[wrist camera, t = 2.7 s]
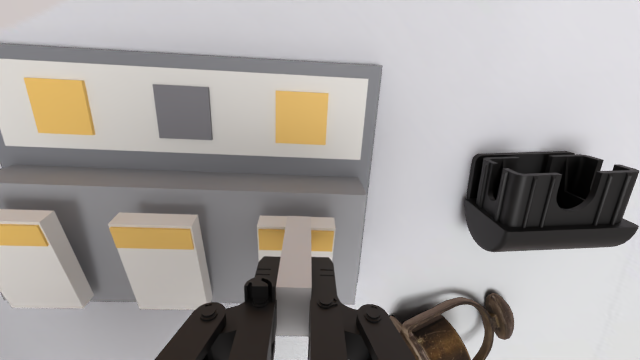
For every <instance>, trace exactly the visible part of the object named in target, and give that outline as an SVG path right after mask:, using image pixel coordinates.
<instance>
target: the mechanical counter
mask: <svg viewBox="0 0 640 360" xmlns="http://www.w3.org/2000/svg"><path fill="white" fill-rule="evenodd" d="M465 304H468V305H472V306H474V307H475V308H476V309H477V310H478V311H479V312H480V314H481V316H482V320H483V325H484V329H485V336H484V340H483V344H482V346H481V348H480V350H479V352H478V353H477V354H476V356H475V357H474V358H473V360H485V359H486V357H487V356H488V354H489V352H490V350H491V348H492V344H493V338H494V332H495V333H496V335H497V336H498V338H501V339H504V340H505V339H508V338H510V336H511V335H512V333H513V329H514V318H513V313H512V311H511V309H510V306H509V305H508V304H507V303H506V302H505V300H504V299H503V298H502V297H501V296H500V295H498V294H496V293H491V294H489V295H488V296H487V297H486V304H485V306H486V310H485V309H484V308H483V307H482V306H481V305H480V304H478V303H477V302H475V301H473V300H471V299H467V298H463V297H458V298H454V299H450V300H446V301H444V302H442V303H440V304H438V305H437V306H435V307H434V308H431V309H429V310H427V311H425V312H422V313H420V314H418V315H416V316H414V317H412V318H410V319H408V320H406V321H404V323H403V324H401V323H400V322H399V321H398V320H397V319H396V318H395V317H394V316H390V319H391V320H392V322H393V324H394V325H395V327H396V328H397V330H398V332H399V333H400V335H401V336H402V338H403V340H404V341H405V343H406V344H407V346H408V348H409V349H410V351H411V352H412V354H413V356H414V357H415V359H416V360H471V359H470V356H469V354H468V351H467V349H466V347H465V345H464V343H463V341H462V340H461V338H460V336H459V335H458V333H457V332H456V330H455V329H454V328H453V327H452V325H451V324H450V323H449V322H448V321H447V320H446V319H445V318H444V317H443V316H442V315H441V314H442V313H443V312H445V311H448V310H450V309H452V308H454V307H456V306H459V305H465Z"/></svg>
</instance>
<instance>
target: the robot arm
mask: <svg viewBox="0 0 640 360" xmlns="http://www.w3.org/2000/svg"><path fill="white" fill-rule="evenodd" d="M244 298H245V302H243V303H242V304H240V305H238V306H235V307H231V308H227V309H225V307H224V306H223V305H222V304H220V303H218V302H210V303H205V304H203V305H201V306H199V307H198V308H197V309H196V310H195V311H194V312H193V313H192V314H191V315H190V317H189V318H188V319H187V320H186V322H185V323H184V324H183V325H182V327H181V328H180V329H179V330H178V332H177V333H176V334H175V335H174V336H173V338H172V339H171V340H170V341H169V343H168V344H167V345H166V346H165V348H164V349H163V350H162V351H161V352H160V354H159V355H158V356H157V357H156V359H155V360H274V352H275V335H276V336H309V345H308V360H416V359H415V357H414V356H413V354H412V352H411V351H410V349H409V348H408V346H407V344H406V343H405V341H404V340H403V338H402V336H401V335H400V333H399V332H398V330H397V328H396V327H395V325H394V324H393V322H392V320H391V319H390V317H389V316H388V314H387V313H386V312H385V310H384V309H382V308H381V307H379V306H377V305H373V304H366V305H363V306H361V307H360V308H359V309H358V310H355V309H352V308H349V307H347V306H345V305H343V304H342V303H341V302H340V300H339V298H338V296H337V289H336V280H335V272H334V264H333V262H332V261H331V259H330V258H329V257H311V217H308V216H287V221H286V227H285V233H284V239H283V246H282V252H281V257H275V256H264V257H263V258H262V259H261V260H260V261H259V262H258V266H257V270H256V273H255V277H254V278H252V279H250V280H248V281H247V282H246V283H245V285H244Z"/></svg>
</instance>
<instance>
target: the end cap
mask: <svg viewBox="0 0 640 360" xmlns="http://www.w3.org/2000/svg"><path fill="white" fill-rule="evenodd" d="M602 163H603V160H602V159H598V158H595V157H592V156H587V155H575V154H574V153H571V152H567V151H558V152H526V153H495V154H478V155H476V156H474V157H473V159H472V164H471V170H470V176H469V183H468V189H467V199H466V200H465V216H466V221H467V225H468V228H469V231H470V233H471V236H472V237H473V239H474V240H475V242H476V243H477V244H478V245H479V246H480V247H481V248H483V249H485V250H487V251H491V252H504V251H527V250H551V249H574V248H598V247H613V246H618V245H620V244H623V243H625V242H626V241H628V240H629V239H630V238H631V237H632V236H633V235H634V234H635V233H636V231H637V229H638V227H639V226H638V225H636V224H634V223H632V222H629V221H627V220H625V219H623V215H624V212H625V209H626V207H627V204H628V201H629V198H630V196H631V193H632V190H633V187H634V185H635V182H636V179H637V176H638V173H639V170H636V169H633V168H630V167H626V166H623V165H614V168H613V171H600V169H601V166H602Z"/></svg>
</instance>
